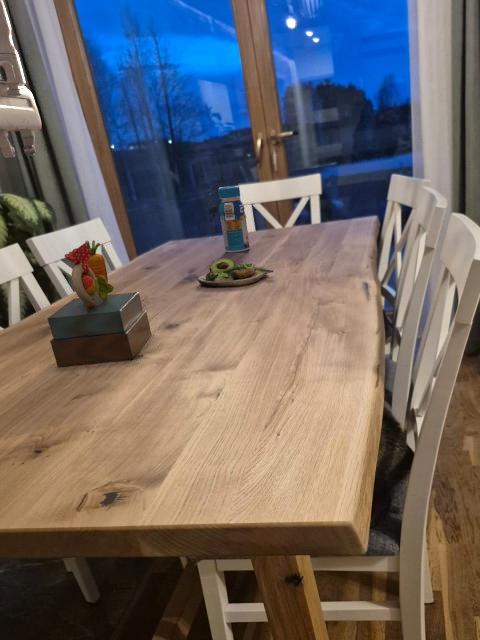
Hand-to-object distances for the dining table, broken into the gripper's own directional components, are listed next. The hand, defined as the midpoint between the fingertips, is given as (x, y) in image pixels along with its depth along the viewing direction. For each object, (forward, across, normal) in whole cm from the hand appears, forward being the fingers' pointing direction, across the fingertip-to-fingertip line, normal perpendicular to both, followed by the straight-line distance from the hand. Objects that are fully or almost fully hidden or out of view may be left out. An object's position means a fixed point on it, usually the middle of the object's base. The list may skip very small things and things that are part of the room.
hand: (21, 156), depth 113 cm
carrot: (+35, -24, 0) cm, 43 cm away
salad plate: (+35, -31, +33) cm, 57 cm away
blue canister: (+35, -73, +30) cm, 86 cm away
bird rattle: (+26, +18, +14) cm, 34 cm away
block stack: (+35, +18, +14) cm, 42 cm away
